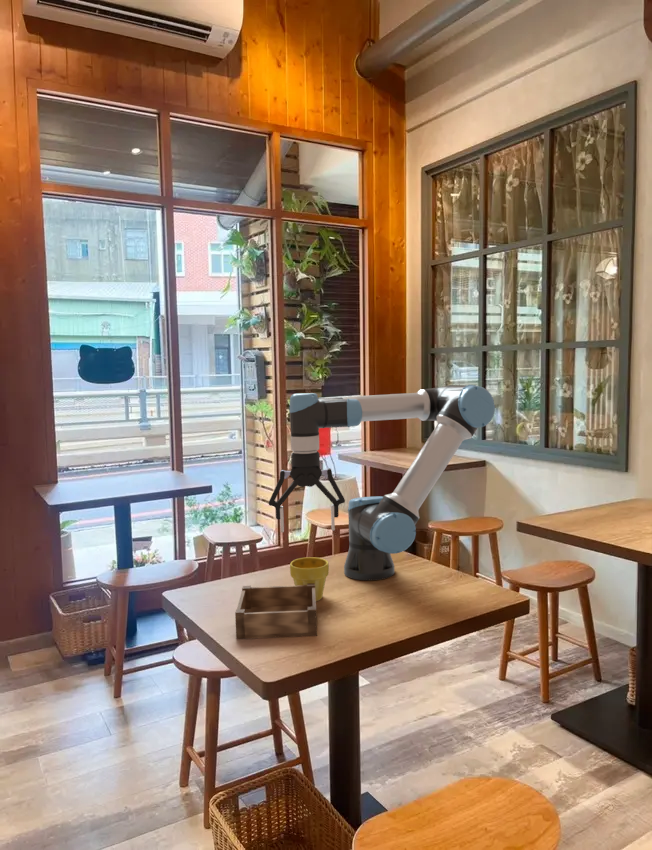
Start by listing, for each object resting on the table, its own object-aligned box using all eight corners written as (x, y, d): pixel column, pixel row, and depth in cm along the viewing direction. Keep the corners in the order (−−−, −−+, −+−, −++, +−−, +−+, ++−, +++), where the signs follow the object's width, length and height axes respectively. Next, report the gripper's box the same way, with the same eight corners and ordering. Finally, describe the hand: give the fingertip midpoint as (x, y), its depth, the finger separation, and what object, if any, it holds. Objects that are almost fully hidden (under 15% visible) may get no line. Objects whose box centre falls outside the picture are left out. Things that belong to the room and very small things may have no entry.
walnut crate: (315, 606, 168) (314, 583, 167) (317, 635, 149) (316, 609, 148) (243, 609, 167) (242, 586, 166) (236, 638, 148) (235, 612, 148)
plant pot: (325, 605, 168) (324, 568, 167) (286, 603, 170) (285, 567, 169) (332, 592, 178) (331, 557, 177) (296, 590, 180) (295, 556, 179)
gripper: (351, 448, 175) (353, 525, 177) (259, 451, 174) (262, 528, 176) (353, 451, 168) (355, 531, 169) (257, 454, 167) (260, 535, 169)
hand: (307, 530), depth 173 cm, fingers open, 13 cm apart
